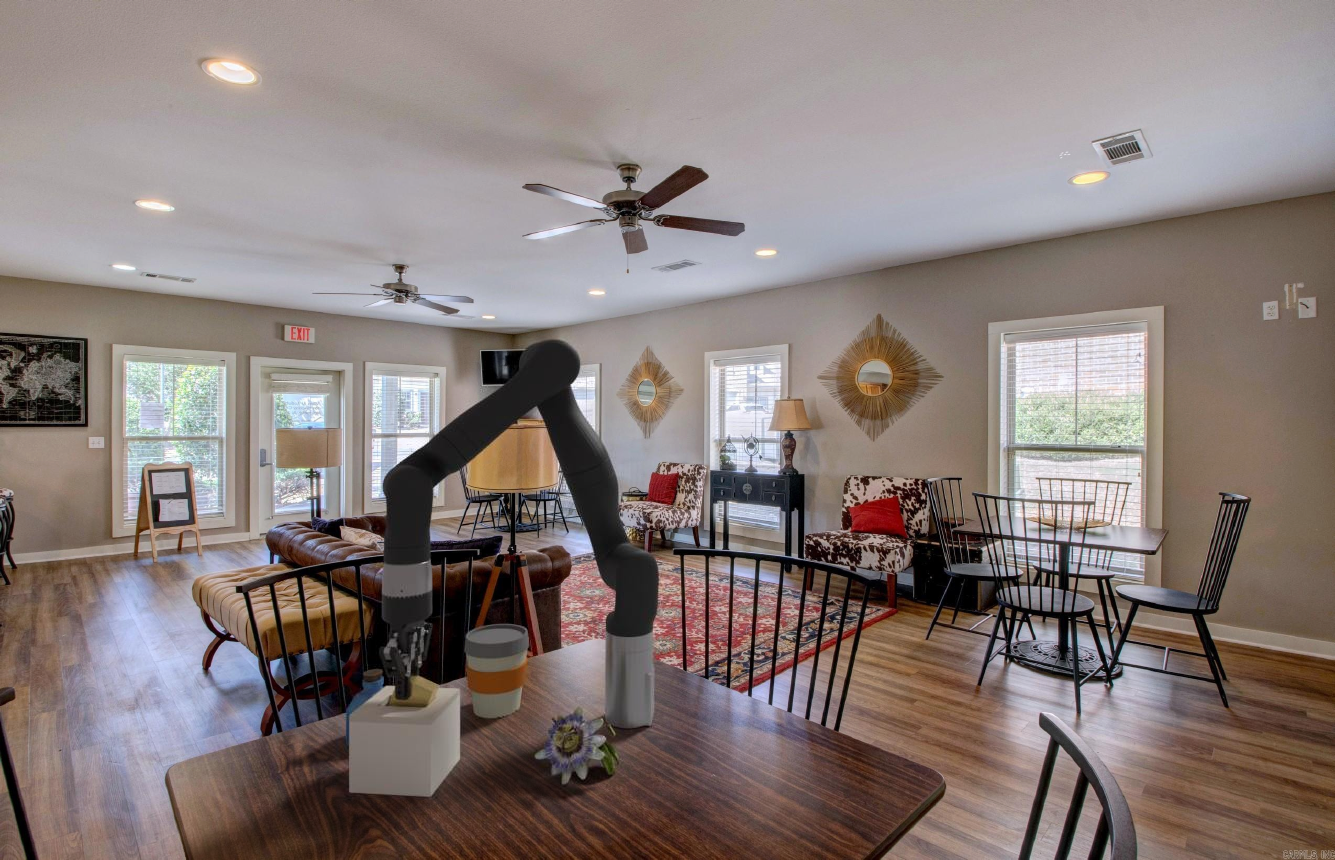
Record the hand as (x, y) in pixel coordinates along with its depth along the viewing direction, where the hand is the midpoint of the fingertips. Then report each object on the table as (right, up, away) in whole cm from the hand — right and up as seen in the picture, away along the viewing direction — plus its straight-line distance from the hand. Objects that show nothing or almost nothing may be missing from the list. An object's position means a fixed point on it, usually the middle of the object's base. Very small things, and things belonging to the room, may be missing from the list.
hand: (407, 694), depth 103 cm
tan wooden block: (0, -2, 0) cm, 2 cm away
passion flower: (+28, -13, +2) cm, 31 cm away
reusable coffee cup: (+8, -13, +25) cm, 29 cm away
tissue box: (0, -13, 0) cm, 13 cm away
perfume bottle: (-11, -13, +12) cm, 21 cm away
